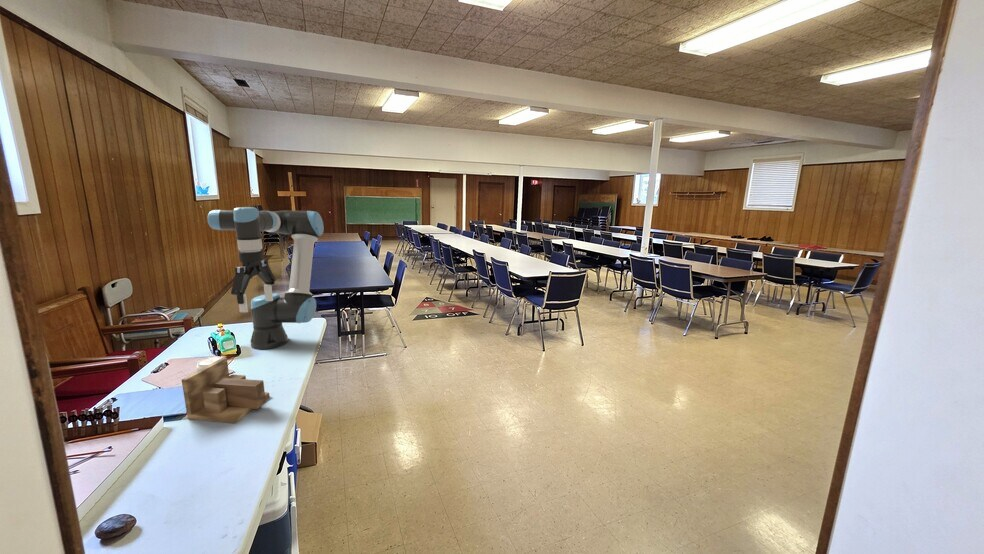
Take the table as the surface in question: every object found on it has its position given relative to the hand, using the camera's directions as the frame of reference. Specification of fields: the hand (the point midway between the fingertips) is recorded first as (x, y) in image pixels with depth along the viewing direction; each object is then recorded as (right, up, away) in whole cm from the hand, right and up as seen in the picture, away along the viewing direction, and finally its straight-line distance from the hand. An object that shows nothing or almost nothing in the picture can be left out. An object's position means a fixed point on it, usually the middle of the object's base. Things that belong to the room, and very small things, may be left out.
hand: (257, 306), depth 142 cm
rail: (+5, -31, -17) cm, 36 cm away
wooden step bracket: (+1, -32, -16) cm, 36 cm away
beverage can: (-11, -30, -7) cm, 33 cm away
